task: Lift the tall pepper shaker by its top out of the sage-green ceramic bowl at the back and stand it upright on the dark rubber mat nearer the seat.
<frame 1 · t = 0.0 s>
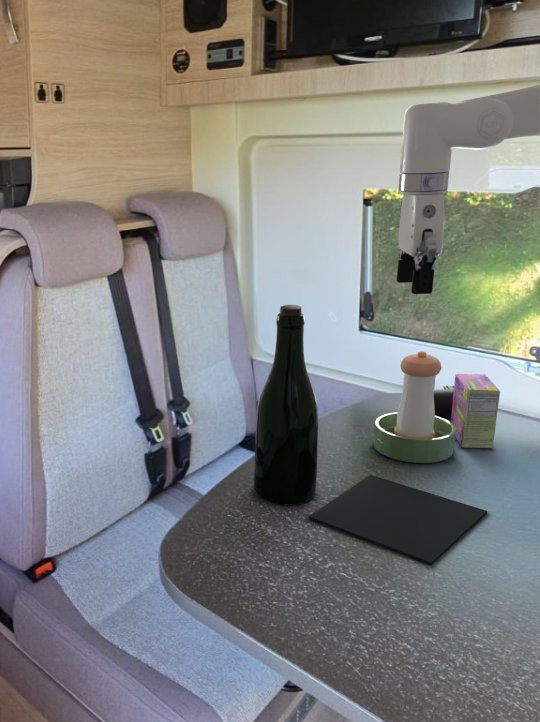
hand: (413, 287, 124), 32 cm above the table, tool pointing down, fingers open, 9 cm apart
box: (469, 439, 142), on the table
end cap: (438, 419, 152), on the table
bowl: (412, 449, 139), on the table
pepper shaker: (412, 448, 139), resting on bowl
mat: (397, 516, 115), on the table
dark green wine bottle: (284, 493, 125), on the table
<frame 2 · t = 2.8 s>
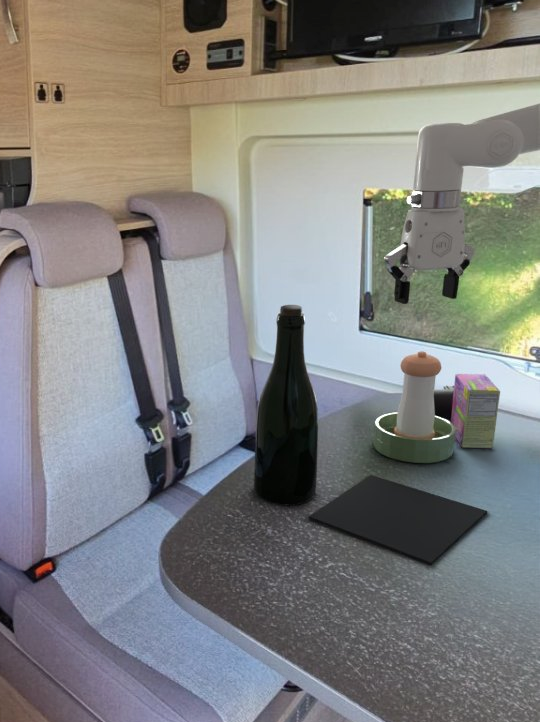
hand: (425, 299, 128), 29 cm above the table, tool pointing down, fingers open, 9 cm apart
nothing on the table moved.
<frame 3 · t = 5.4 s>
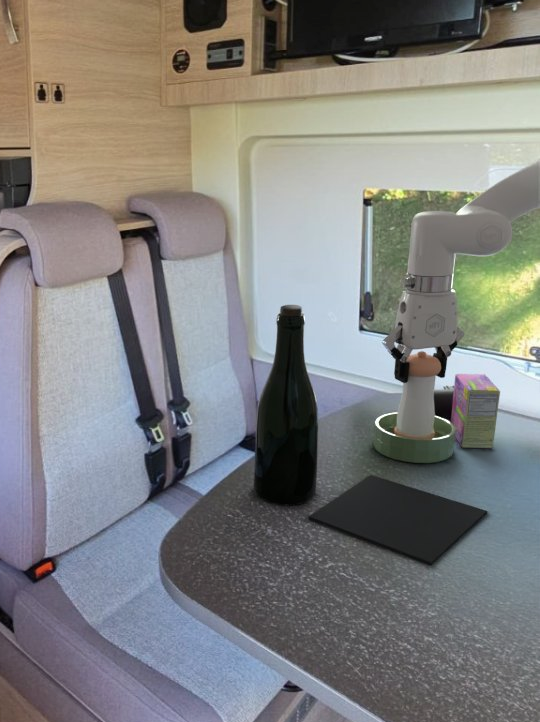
hand: (419, 377, 134), 15 cm above the table, tool pointing down, fingers closed on pepper shaker, 7 cm apart
pepper shaker: (412, 448, 139), resting on bowl, touching gripper
everything else where it was.
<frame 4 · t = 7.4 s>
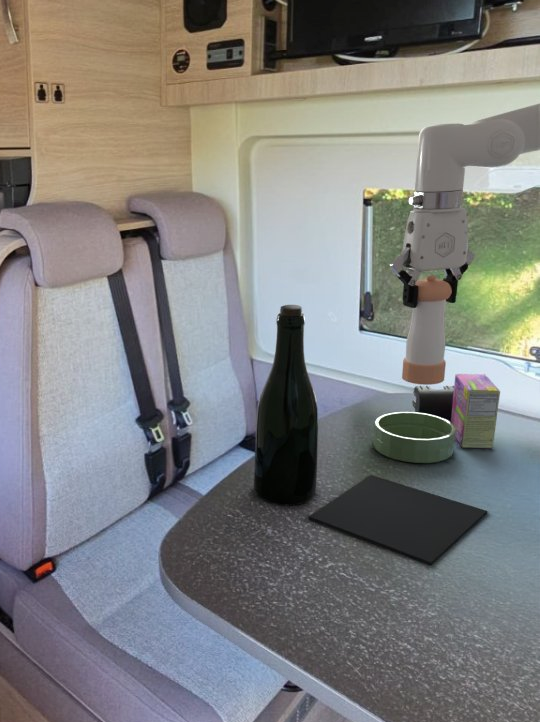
hand: (429, 303, 129), 29 cm above the table, tool pointing down, fingers closed on pepper shaker, 7 cm apart
pepper shaker: (422, 379, 133), point 14 cm above the table, touching gripper
everything else where it was.
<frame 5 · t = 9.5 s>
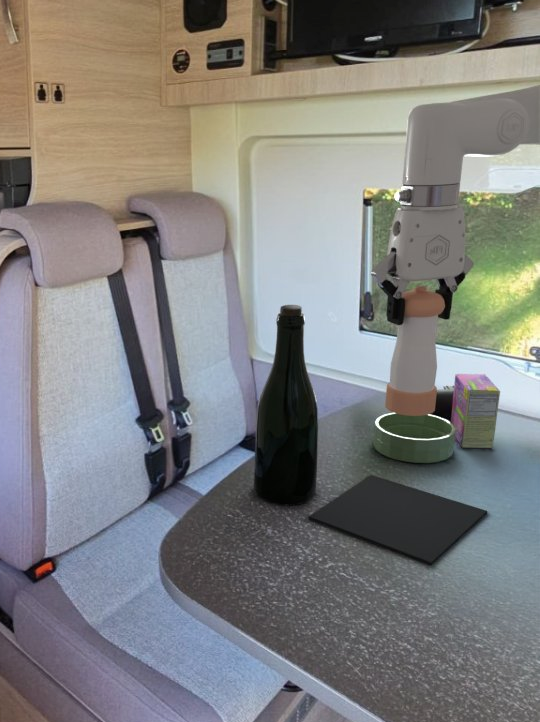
hand: (418, 319, 107), 32 cm above the table, tool pointing down, fingers closed on pepper shaker, 7 cm apart
pepper shaker: (409, 408, 113), point 17 cm above the table, touching gripper
everything else where it was.
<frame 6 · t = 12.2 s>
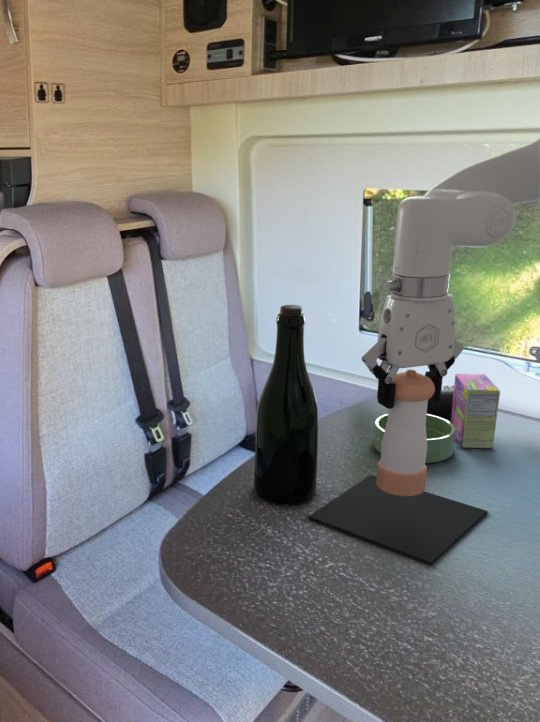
hand: (408, 401, 109), 20 cm above the table, tool pointing down, fingers closed on pepper shaker, 7 cm apart
pepper shaker: (400, 486, 114), point 5 cm above the table, touching gripper
everything else where it was.
when the fingers open (15 cm above the table, at t = 14.1 s): pepper shaker stays where it is, resting on mat.
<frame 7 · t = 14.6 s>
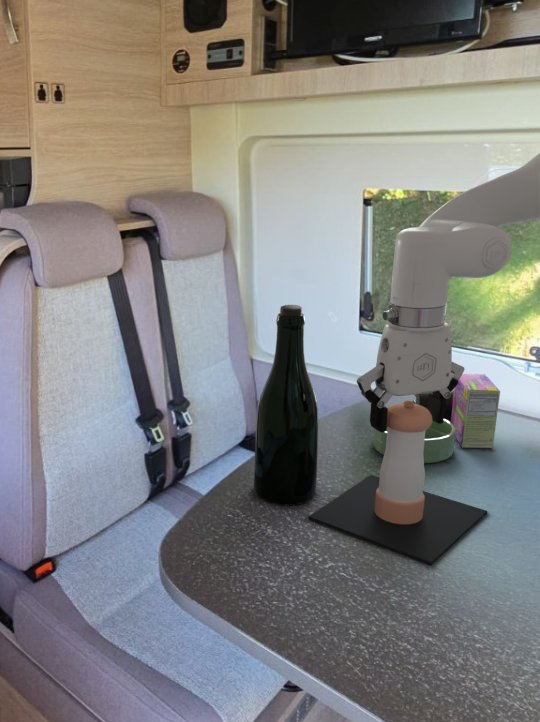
hand: (406, 424, 110), 16 cm above the table, tool pointing down, fingers open, 9 cm apart
pepper shaker: (398, 514, 115), resting on mat
everything else where it was.
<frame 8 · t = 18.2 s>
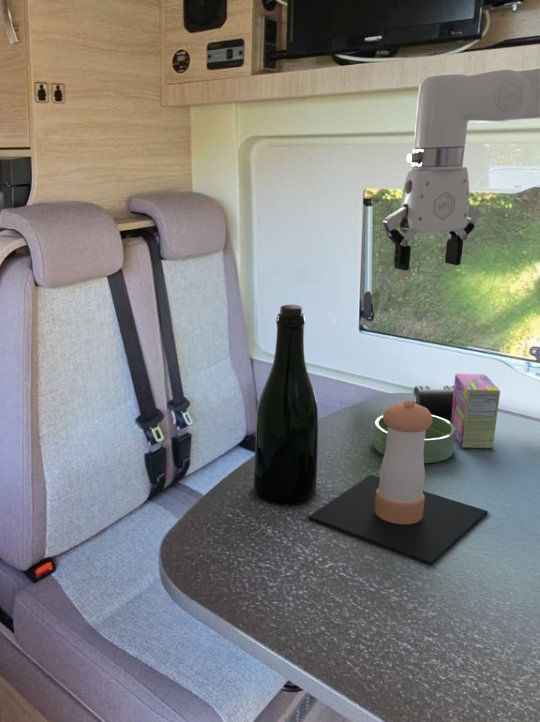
hand: (427, 266, 121), 36 cm above the table, tool pointing down, fingers open, 9 cm apart
nothing on the table moved.
at the end: pepper shaker inside the target area on the mat (0.1 cm from its centre), point 0.3 cm above the mat's base; pepper shaker tilted 0°; pepper shaker touching mat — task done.
